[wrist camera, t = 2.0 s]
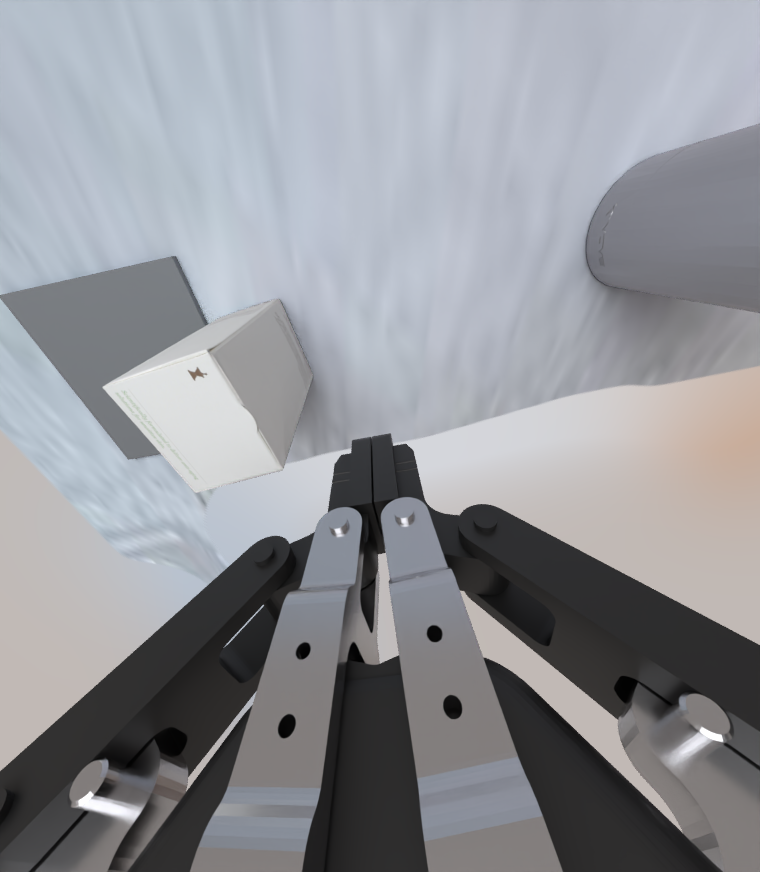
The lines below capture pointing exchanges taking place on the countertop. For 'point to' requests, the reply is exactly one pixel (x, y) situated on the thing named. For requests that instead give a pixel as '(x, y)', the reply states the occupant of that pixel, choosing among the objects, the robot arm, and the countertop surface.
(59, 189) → the countertop surface
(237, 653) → the robot arm
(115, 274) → the mat
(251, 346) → the skincare box
